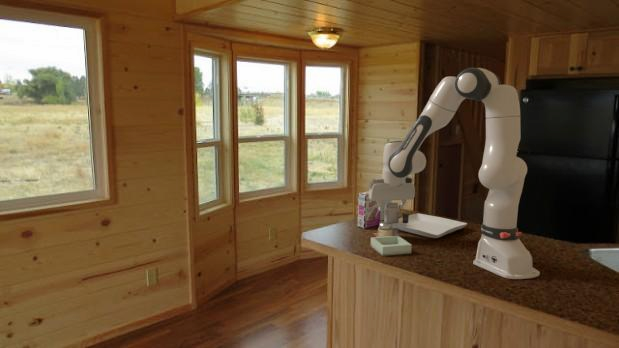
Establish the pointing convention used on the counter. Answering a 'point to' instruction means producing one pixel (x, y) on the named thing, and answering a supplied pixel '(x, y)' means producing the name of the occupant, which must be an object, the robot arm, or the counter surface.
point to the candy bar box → (367, 211)
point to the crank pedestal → (383, 233)
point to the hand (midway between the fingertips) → (390, 209)
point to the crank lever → (395, 223)
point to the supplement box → (382, 213)
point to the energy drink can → (392, 215)
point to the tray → (390, 245)
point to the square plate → (430, 225)
